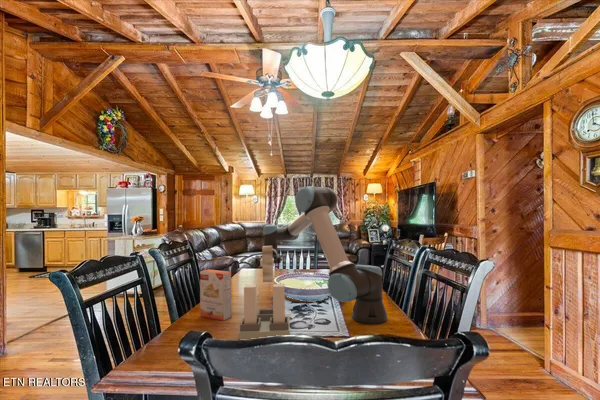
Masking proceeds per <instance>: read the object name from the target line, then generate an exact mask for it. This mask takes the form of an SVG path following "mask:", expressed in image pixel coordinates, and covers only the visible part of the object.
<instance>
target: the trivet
mask: <svg viewBox="0 0 600 400" xmlns="http://www.w3.org/2000/svg"><path fill="white" fill-rule="evenodd" d="M285 300H287V301H288V300H289V301H288V302H292V303H298V304H312V303H313V302H308V303H307V302H305V301H300V300H295V299H292V298H289V297H287V296H286V295H285ZM327 300H329V298H327V299H324V300H322V301H316V303H321V302H325V301H327ZM313 304H314V303H313Z"/></svg>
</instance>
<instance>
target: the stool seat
mask: <svg viewBox="0 0 600 400" xmlns="http://www.w3.org/2000/svg"><path fill="white" fill-rule="evenodd" d="M257 291H258V290H257V284H245V285H244V286H243V315H244V316H243V318H242V319H241V321H240V324H239V331H238V340H239V339H251V338H259V337H267V336H276V335H290V336H291V329H290V324H291V323H290V314H288V313H286V312H285V311H286V308H285V307H286V304H285V303H286V302H285V301H286V299H285V293H286V292H285V291H286V290H285V283H274V284H272V309H271V308H267V309H266V308H265V309H262V308H261V309H258V298H257V297H258V295H257V294H258V293H257Z"/></svg>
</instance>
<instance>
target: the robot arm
mask: <svg viewBox="0 0 600 400" xmlns="http://www.w3.org/2000/svg"><path fill="white" fill-rule="evenodd" d="M294 203H295V207H296V209H297V210H298V211H299V212H301V214H300V215H299V216H298V217H296V218H295V219H294V220H293V221H292V222H291V223H289V224H288V225H287V226H285V227H278V225H276V224H266V225H263V232H262V236H263V246H272V256H273V258H272V266H273V267H274V265H275V264H281V262H282V261H283V254H280V255H278V252H279V251H278V242H287V241H288V242H290V241H296V240H297V239H298V238H299V237H300V234H301V233H302V232H303V231H305V230H306V229H307V228H309V227H310V226H311V225H312V228H313V229H314V232H315V234H316V237H317V239H318V241H319V244H320V246H321V249H322V251H323V254H324V256H325V259H326V261H327V264H328V266H329V271H328V276H329V278H328V279H327V289H328V292H329V295H330V296H331V297H333V298H334V300H336V301H339V302H341V303H348V302H352V301H354V300H355V302H354V303H353V304H354V305H353V309H352V310H351V311H352V312H351V316H352V319H353V320H354V321H356V322H358V323H363V324H370V325H375V324H376V325H377V324H383V323H385V322H387V321H388V313H387V310H386V307H385V304H384V300H383V271H382V268H381V267H380V266H376V265H369V264H367V265H366V264H355V263H354V262H352V261H350V260H349V258H348V256H347V254H346V252H345V249H344V247H343V245H342V242H341V240H340V237H339V235H338V233H337V231H336V228H335V226H334V224H333V222H332V219H331V216H330V215H329V214H331V212H332V211H334V209H336V206H337V204H338V196H337V194H336V192H335V191H334V190H333V189H331V188H330V187H327V186H323V187H322V186H310V185H308V186H303V187H300V188H299V190H297V193H296V195H295V201H294ZM254 259H255V261H254V262H255V264H257V265H258V266H260V267H262V268H263V262H262V255H255V258H254Z"/></svg>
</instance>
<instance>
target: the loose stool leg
mask: <svg viewBox="0 0 600 400" xmlns="http://www.w3.org/2000/svg"><path fill="white" fill-rule="evenodd" d="M261 249H262V251H261V256H262V262H263V265H262V283H273V281H274V274H273V273H274V270H273V269H274V266H272V258H273V256H272V246H264V245H263V246H262V247H261Z"/></svg>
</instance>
